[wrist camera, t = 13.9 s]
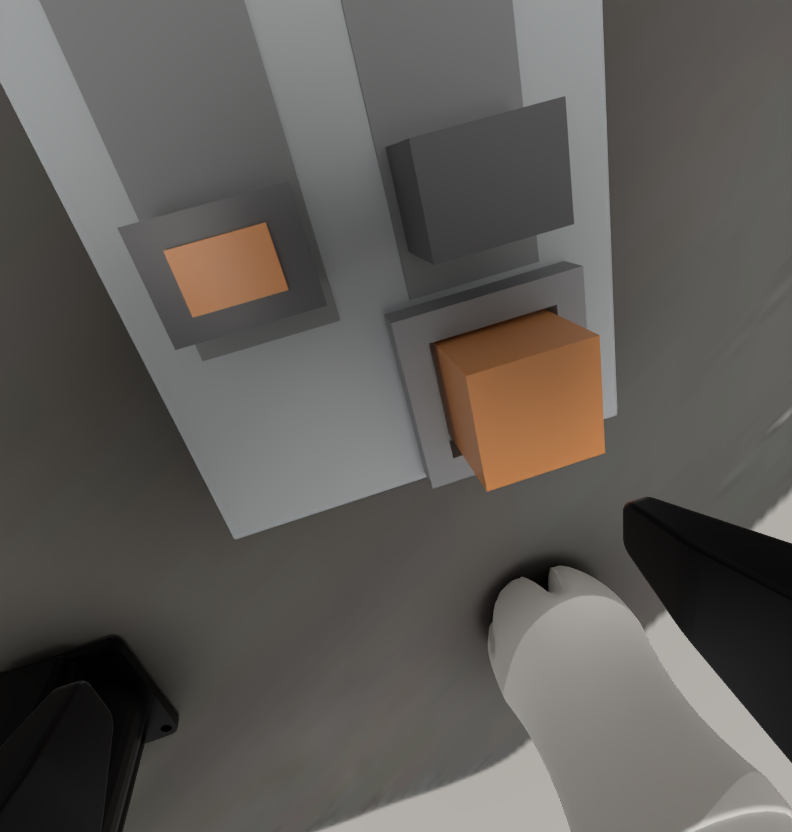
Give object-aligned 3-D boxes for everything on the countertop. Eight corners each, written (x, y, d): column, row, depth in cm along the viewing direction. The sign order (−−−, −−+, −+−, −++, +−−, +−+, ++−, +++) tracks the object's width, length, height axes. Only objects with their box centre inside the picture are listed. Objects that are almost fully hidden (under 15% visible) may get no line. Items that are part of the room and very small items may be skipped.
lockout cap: (545, 403, 19) (605, 453, 16) (448, 434, 19) (486, 491, 15) (535, 304, 17) (599, 335, 14) (428, 336, 17) (465, 376, 14)
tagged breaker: (319, 285, 15) (328, 308, 13) (194, 321, 15) (173, 353, 12) (288, 182, 14) (289, 180, 11) (149, 219, 14) (112, 228, 11)
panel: (596, 400, 22) (669, 451, 17) (237, 516, 20) (226, 599, 16) (556, -295, 12) (690, -530, 8) (-97, -160, 11) (-314, -358, 7)
